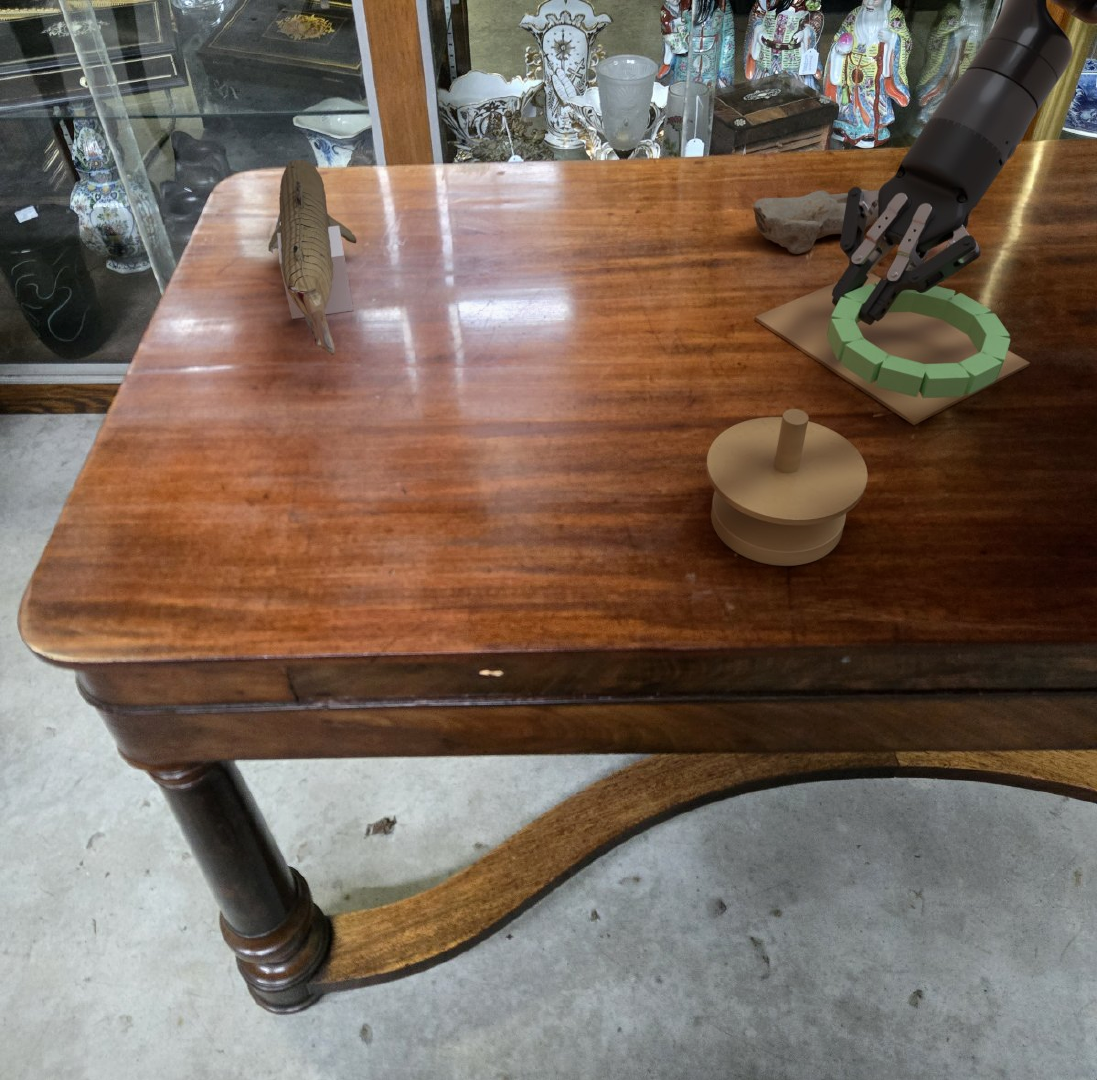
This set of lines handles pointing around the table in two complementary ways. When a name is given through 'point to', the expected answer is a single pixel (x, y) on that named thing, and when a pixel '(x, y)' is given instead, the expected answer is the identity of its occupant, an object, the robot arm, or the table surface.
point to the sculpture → (802, 218)
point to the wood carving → (311, 251)
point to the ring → (914, 375)
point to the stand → (783, 488)
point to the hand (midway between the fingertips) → (851, 313)
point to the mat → (881, 346)
